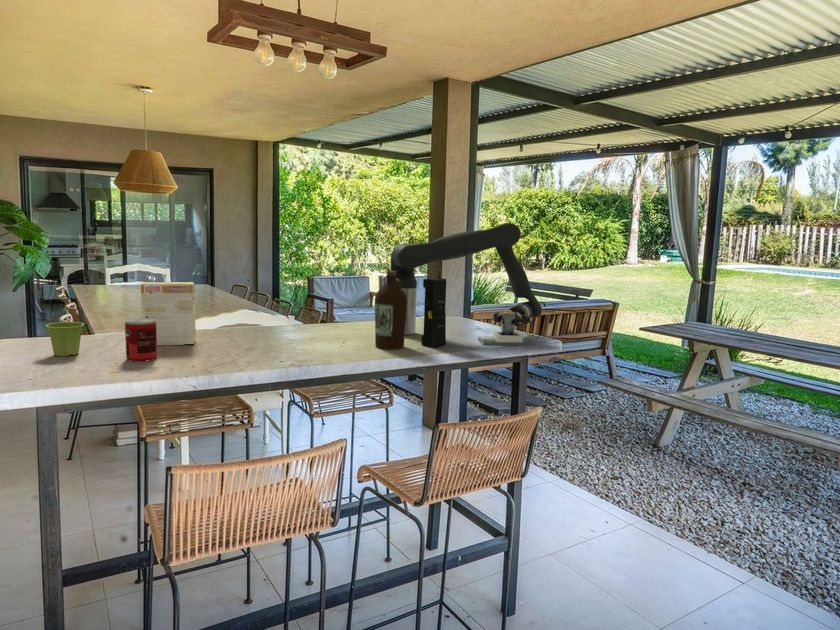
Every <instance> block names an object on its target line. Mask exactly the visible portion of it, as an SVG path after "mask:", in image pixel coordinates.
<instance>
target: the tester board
mask: <svg viewBox="0 0 840 630" xmlns="http://www.w3.org/2000/svg"><path fill="white" fill-rule="evenodd" d="M523 337H524V336H523V335H522V334H520V333H519V332H517V331H514V336H509V335H501V331H492V337H486V336H485V337H481V336H480V337H477V340H478V342H480V343H481V344H482V345H483V346H524V342H523Z"/></svg>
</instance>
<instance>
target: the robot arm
mask: <svg viewBox="0 0 840 630" xmlns="http://www.w3.org/2000/svg"><path fill="white" fill-rule="evenodd" d="M521 236H522V232H521V229H520V227H519V226H518V225H516V224H515V223H512V222H504V223H500V224H497V225H495V226H494V227H491V228H488V229H481V230H470V231H462V232H461V231H460V232H459V233H458V232H457V233H453V234H452V233H451V234H448V235H445V236H443V237H440V238H437V239H436V240H433V241H430V242H425V243H417V244H409V243H402V244H401V243H400V244H397V245H396V246H394V248H393V249H392V251H391V254H390V271H396V276H397V280H396V282H397V284H398V285H399V287H400V288H401V289H402V290H403V291H404V293H405V294H406V298H407V309H406V321H405V335H404V336H406V335H407V336H409V335H415V334H416V329H417V326H416V324H417V321H416V320H417V319H416V317H417V295H418V294H417V292H418V291H417V290H418V289H417V288H418V281H417V279H416V276H415V269H417V268H419V267H422V266H425V265H427V264H432V263H435V262H441V261H449V260H455V259H460V258H465V257H468V256H471V255H475V254H478V253H480V252H484V251H486V250H489V249H494V248H495V250H496V251H497V253H498V256H499V258H500V260H501V262H502V265H503V267H504V269H505V272H506V273H507V277H508V281H509V283H510V287H511V289H512V293H513V296H514V297H515V298H517V299H526V300H527V301H524V302H520V303H518V304H515V305H512V306H511V307H509V308H508V309H507V310H511V311H512V312H515V326H514V327H520V326H522V325H527V324H530V323H533V319H535V318H539V317H541V315H542V312H543V308H542V306H541V303H540V302H539V300H538V299H537V297H536V296H535V294H534V292H533V290H532V289H531V285H530V282H529V279H528V276H527V273H526V272H525V269H524V268H523V266H522V264H521V263H520V262H519V261H518V258H517V257H516V255H515V252H514V248H513V246H514V245H516V244H517V243H518V242H519V241H520V239H521ZM502 317H503V312H501V313H500V312H498V311H496V312H494V313H493V320H492V321H493V322H496V323H499V324H500V322H501V323H502Z"/></svg>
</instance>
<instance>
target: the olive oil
mask: <svg viewBox="0 0 840 630" xmlns="http://www.w3.org/2000/svg"><path fill="white" fill-rule="evenodd" d="M385 278H386V280H385V281H386V282H385V283H384V284H383V286H381V288H379V290H377V292H376V294H375V297H374V322H375V323H374V328H375V329H374V330H375V333H374V334H375V338H374V339H375V341H374V342H375V343H374V344H375V347H376V348H377V349H382V350H399V349H400V350H401V349H403V348H404V347H405V336H406V335H405V321H406V309H407V298H406V294H405V293H404V291H403V290H402V289H401V288H400V287H399V285H398V284H397V282H396V280H397V276H396V271H391V270H387V271H386V277H385Z"/></svg>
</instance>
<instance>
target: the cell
mask: <svg viewBox="0 0 840 630" xmlns="http://www.w3.org/2000/svg"><path fill="white" fill-rule="evenodd" d="M502 313H503V317H501V318H502V322H501V330H500V332H501V335H509V336H514V332H515V327H516V326H515V312H512V311H511V310H508V309H507V310H503V312H502Z"/></svg>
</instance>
